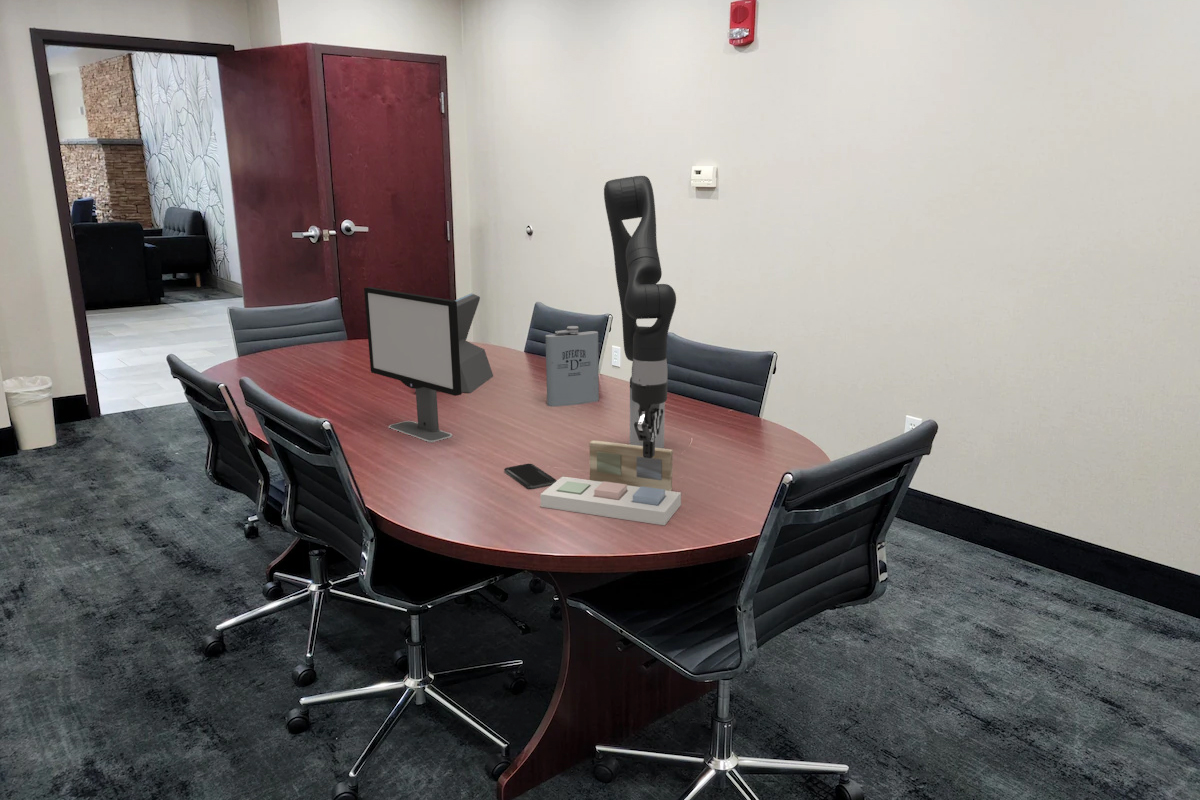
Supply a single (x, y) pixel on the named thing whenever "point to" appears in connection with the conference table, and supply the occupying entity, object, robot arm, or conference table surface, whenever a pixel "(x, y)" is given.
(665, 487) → the card
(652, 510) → the keypad
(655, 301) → the robot arm
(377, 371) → the computer monitor
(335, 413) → the conference table surface
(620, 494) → the key rose
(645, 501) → the key slate
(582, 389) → the flask
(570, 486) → the key sage
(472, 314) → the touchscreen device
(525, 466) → the phone
